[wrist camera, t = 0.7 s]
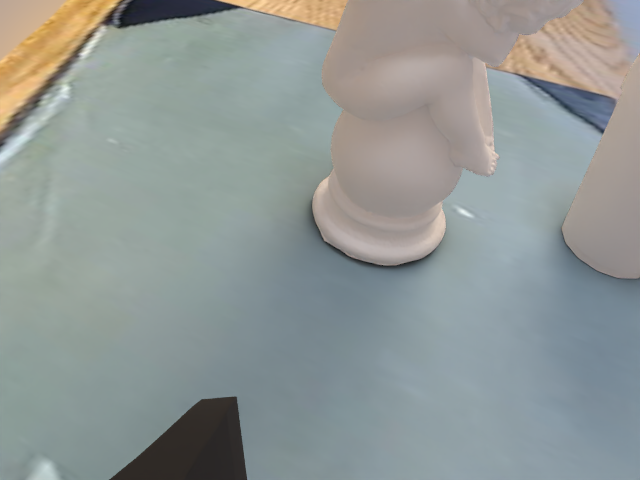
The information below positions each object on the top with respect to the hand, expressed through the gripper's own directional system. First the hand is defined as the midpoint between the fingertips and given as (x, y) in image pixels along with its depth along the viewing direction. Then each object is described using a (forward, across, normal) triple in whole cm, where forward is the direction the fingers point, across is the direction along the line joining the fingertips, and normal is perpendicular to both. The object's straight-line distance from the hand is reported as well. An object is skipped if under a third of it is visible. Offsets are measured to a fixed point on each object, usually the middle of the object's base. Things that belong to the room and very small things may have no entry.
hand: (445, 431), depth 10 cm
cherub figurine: (+28, 0, +2) cm, 28 cm away
